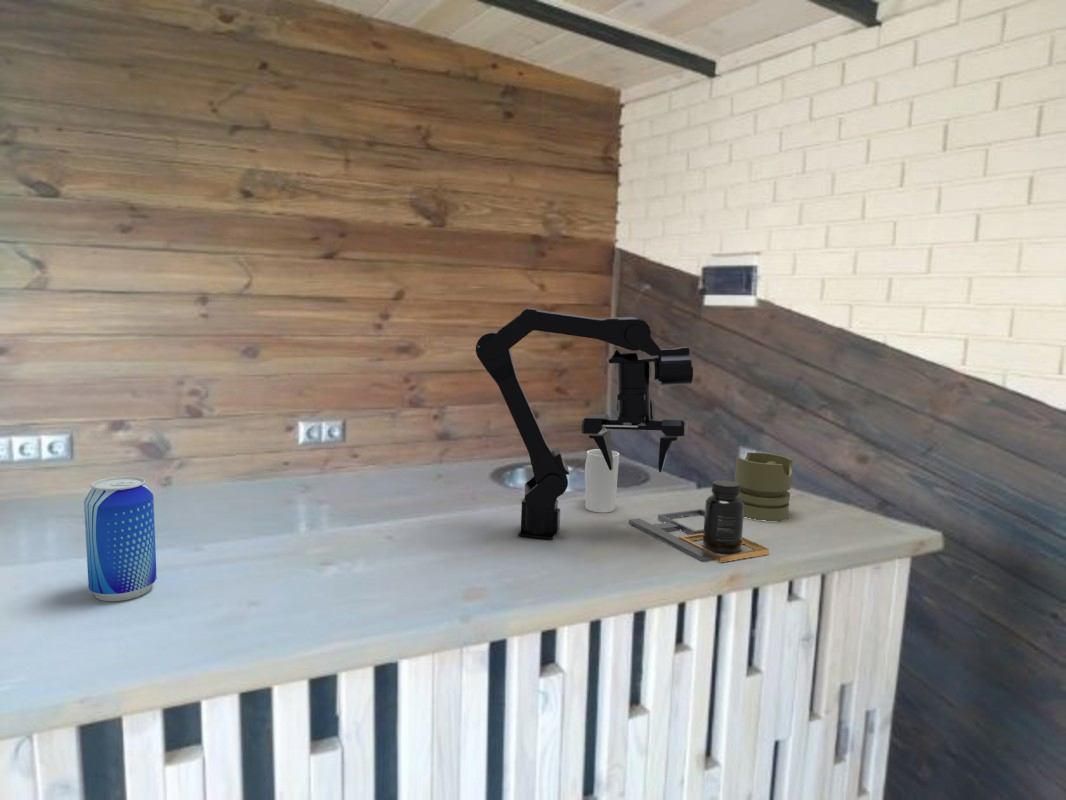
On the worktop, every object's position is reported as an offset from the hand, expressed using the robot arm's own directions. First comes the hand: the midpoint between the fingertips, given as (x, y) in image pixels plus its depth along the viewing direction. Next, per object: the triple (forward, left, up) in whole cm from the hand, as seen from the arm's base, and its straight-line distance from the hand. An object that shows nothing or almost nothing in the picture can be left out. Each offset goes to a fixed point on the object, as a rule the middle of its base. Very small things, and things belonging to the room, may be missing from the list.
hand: (635, 470), depth 132 cm
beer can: (-68, -48, -13) cm, 84 cm away
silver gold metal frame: (+13, +5, -13) cm, 19 cm away
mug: (-9, +17, -13) cm, 23 cm away
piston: (+25, +24, -13) cm, 37 cm away
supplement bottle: (+16, -1, -13) cm, 21 cm away
